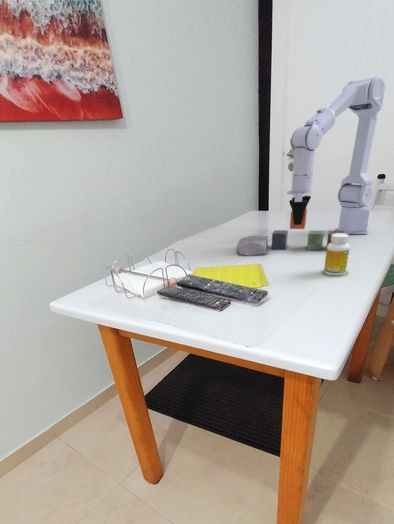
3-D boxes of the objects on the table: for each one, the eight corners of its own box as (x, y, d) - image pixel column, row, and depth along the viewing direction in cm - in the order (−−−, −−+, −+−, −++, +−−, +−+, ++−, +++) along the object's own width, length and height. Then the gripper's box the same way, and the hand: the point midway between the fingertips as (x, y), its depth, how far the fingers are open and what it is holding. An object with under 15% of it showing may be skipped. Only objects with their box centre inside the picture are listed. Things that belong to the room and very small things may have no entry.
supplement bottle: (342, 277, 86) (349, 238, 81) (321, 274, 89) (326, 236, 83) (347, 270, 90) (353, 233, 85) (326, 268, 92) (331, 231, 87)
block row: (341, 246, 108) (343, 230, 105) (341, 250, 104) (343, 234, 101) (273, 245, 115) (274, 230, 112) (271, 249, 111) (272, 233, 108)
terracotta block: (305, 225, 108) (307, 209, 106) (304, 228, 105) (305, 211, 102) (291, 225, 110) (292, 209, 107) (289, 228, 106) (291, 212, 104)
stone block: (237, 261, 109) (268, 254, 105) (234, 246, 106) (265, 239, 103) (241, 251, 119) (269, 245, 115) (238, 237, 116) (267, 231, 113)
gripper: (291, 172, 106) (288, 217, 114) (285, 178, 95) (282, 227, 102) (314, 171, 104) (310, 217, 111) (311, 177, 93) (306, 228, 100)
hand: (298, 222), depth 107 cm, fingers closed on terracotta block, 4 cm apart
